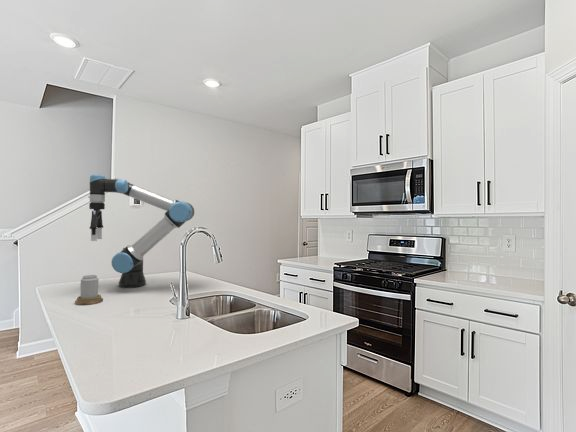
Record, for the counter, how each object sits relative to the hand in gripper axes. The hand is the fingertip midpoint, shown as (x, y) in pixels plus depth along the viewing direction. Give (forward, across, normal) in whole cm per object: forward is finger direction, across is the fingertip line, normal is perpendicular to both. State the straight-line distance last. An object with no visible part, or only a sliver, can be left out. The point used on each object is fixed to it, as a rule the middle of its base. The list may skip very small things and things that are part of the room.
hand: (96, 239), depth 190 cm
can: (+28, +26, +2) cm, 38 cm away
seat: (+29, +26, +2) cm, 39 cm away
